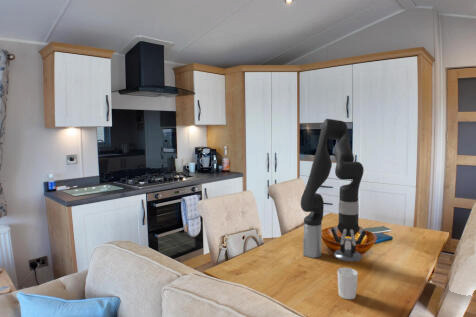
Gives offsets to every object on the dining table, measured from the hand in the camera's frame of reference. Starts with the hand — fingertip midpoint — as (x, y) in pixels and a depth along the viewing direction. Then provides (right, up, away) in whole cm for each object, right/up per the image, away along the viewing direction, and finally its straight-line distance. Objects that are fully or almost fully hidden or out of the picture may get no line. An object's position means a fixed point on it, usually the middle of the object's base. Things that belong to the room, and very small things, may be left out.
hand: (347, 253), depth 129 cm
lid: (0, -1, 0) cm, 1 cm away
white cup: (0, -18, +2) cm, 18 cm away
